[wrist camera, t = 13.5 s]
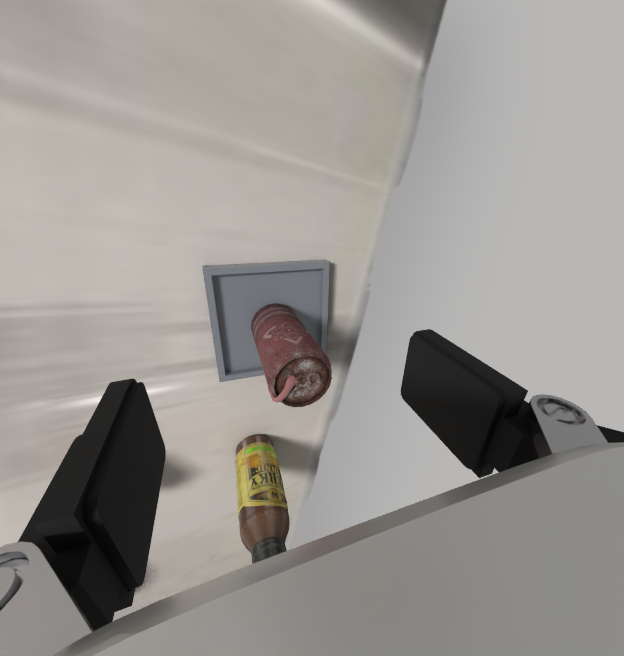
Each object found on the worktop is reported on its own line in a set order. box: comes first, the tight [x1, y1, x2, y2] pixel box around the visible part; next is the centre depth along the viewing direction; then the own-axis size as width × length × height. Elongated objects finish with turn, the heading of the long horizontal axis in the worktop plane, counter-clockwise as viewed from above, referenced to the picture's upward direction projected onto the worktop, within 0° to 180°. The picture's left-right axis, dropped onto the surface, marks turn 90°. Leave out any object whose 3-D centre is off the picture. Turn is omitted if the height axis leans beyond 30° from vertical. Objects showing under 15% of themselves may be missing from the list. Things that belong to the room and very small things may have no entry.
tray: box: [203, 260, 330, 382], centre depth 36 cm, size 15×15×2 cm
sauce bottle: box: [235, 435, 289, 564], centre depth 36 cm, size 6×6×20 cm
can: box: [251, 303, 332, 407], centre depth 31 cm, size 6×6×14 cm
